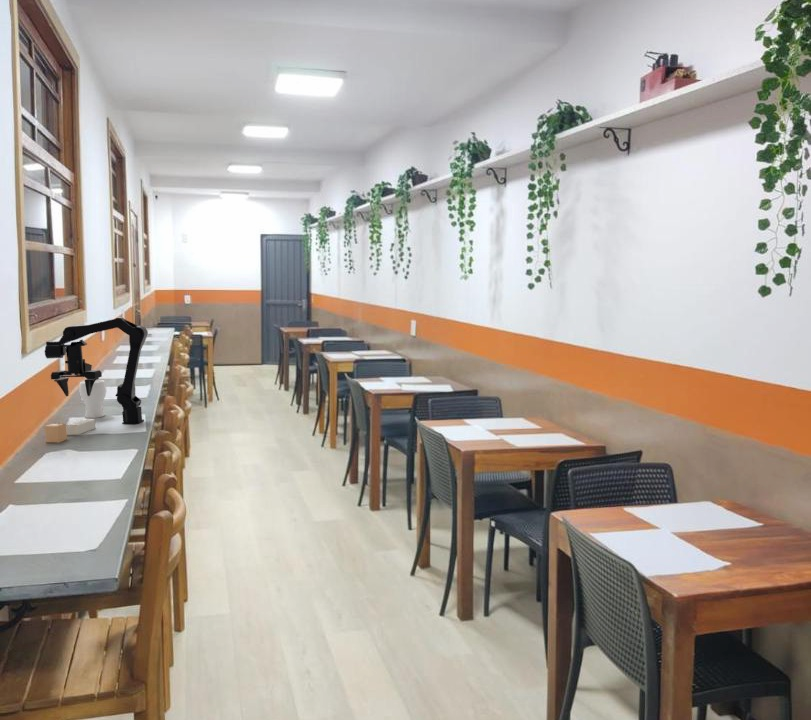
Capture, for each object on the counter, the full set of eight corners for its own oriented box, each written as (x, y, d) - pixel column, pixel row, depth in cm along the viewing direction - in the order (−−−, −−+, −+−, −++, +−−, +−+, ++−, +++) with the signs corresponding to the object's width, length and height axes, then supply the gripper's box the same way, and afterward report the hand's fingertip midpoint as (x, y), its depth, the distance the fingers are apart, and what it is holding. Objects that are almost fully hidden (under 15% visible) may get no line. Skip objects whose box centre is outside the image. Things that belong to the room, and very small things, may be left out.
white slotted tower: (95, 427, 295) (94, 418, 294) (77, 434, 283) (77, 425, 283) (83, 427, 296) (83, 418, 295) (65, 434, 284) (64, 425, 283)
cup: (75, 417, 316) (72, 382, 314) (96, 413, 326) (93, 379, 324) (93, 419, 311) (90, 384, 309) (113, 414, 321) (111, 380, 319)
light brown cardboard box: (67, 439, 276) (65, 422, 275) (58, 442, 271) (57, 425, 271) (54, 439, 277) (53, 422, 276) (46, 442, 272) (44, 425, 271)
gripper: (107, 354, 304) (110, 392, 306) (64, 355, 306) (67, 392, 308) (92, 358, 293) (95, 397, 295) (48, 358, 295) (51, 397, 297)
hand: (78, 396), depth 299 cm, fingers open, 9 cm apart
